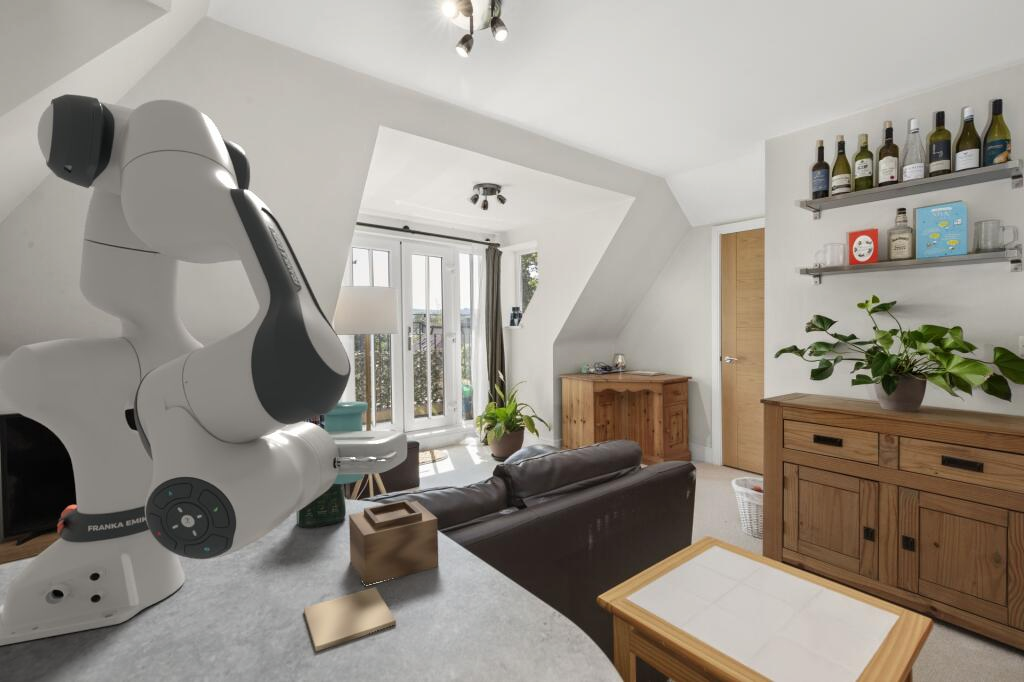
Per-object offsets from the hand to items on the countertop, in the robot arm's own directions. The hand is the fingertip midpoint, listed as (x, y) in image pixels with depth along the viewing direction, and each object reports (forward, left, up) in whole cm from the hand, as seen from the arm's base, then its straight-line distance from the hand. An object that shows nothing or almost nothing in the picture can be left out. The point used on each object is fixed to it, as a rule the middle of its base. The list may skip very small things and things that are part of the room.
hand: (346, 436), depth 67 cm
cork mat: (-1, -1, -25) cm, 25 cm away
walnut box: (+9, +11, -25) cm, 29 cm away
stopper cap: (-1, -1, -5) cm, 6 cm away
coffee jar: (+2, +38, -25) cm, 46 cm away
